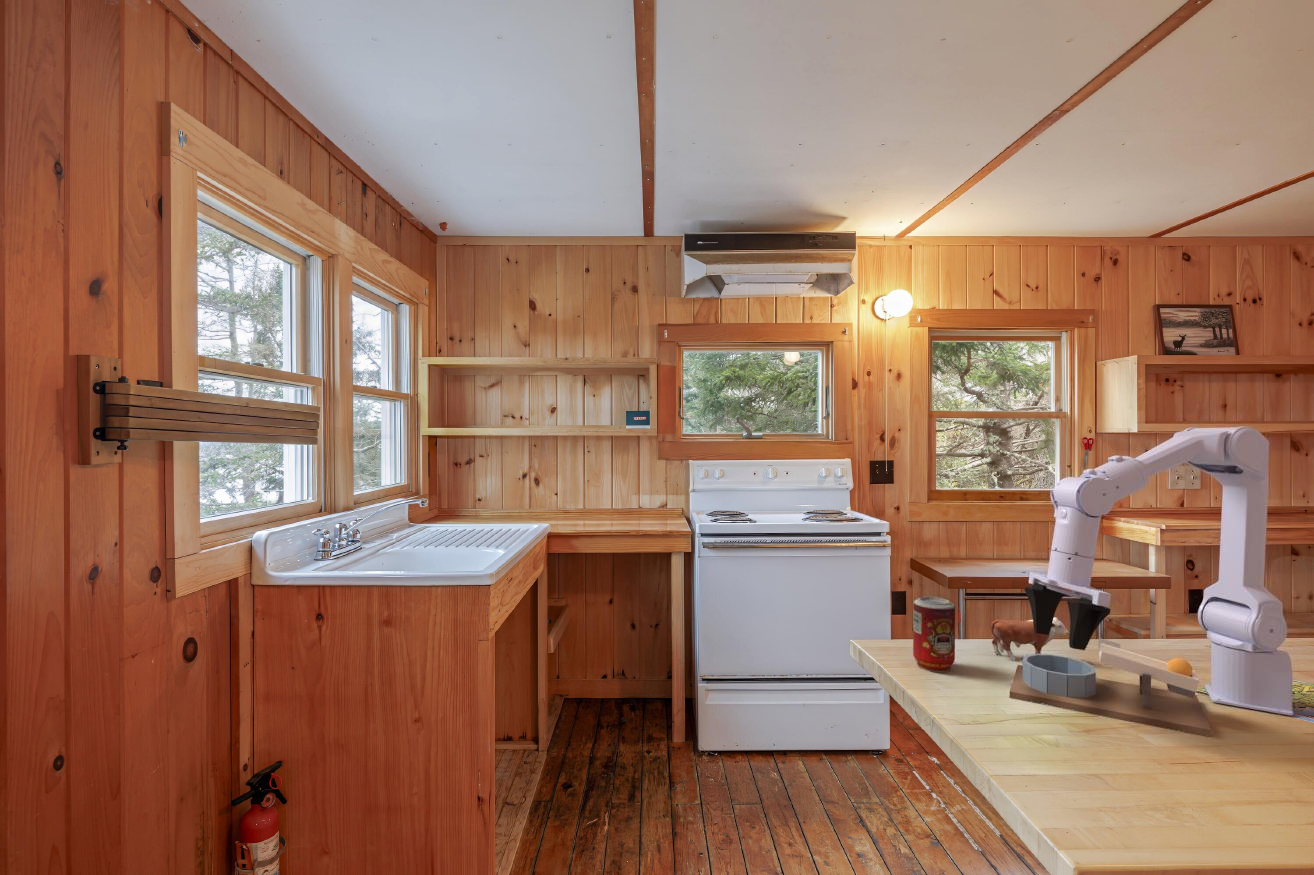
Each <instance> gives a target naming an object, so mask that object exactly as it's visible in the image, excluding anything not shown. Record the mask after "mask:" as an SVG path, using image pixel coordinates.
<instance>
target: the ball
mask: <svg viewBox="0 0 1314 875" xmlns="http://www.w3.org/2000/svg"><path fill="white" fill-rule="evenodd" d="M1167 663H1168V665H1167V668H1168V671H1171V672H1175V673H1178V674H1182V675H1185V676H1188V677H1190V676H1191V675H1192V672H1193V666H1192V665H1191V663H1190V662H1188V661H1187V660H1185V659H1183V658H1182V657H1181V658H1180V657H1179V658H1178V657H1175V658H1172V659H1170V660H1169V661H1168V662H1167Z"/></svg>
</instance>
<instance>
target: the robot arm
mask: <svg viewBox="0 0 1314 875" xmlns="http://www.w3.org/2000/svg"><path fill="white" fill-rule="evenodd" d="M1269 453H1270V440H1269V439H1267V438H1266V436H1264V435H1263V434H1262V433H1261V432H1260V431H1259V430H1257V429H1256V428H1254V427H1253V426H1249V425H1245V426H1243V425H1242V426H1236V427H1234V426H1233V427H1231V426H1229V427H1199V426H1197V427H1196V426H1192V427H1187V428H1185V429H1184V430H1181V431H1178V432H1175V433H1174V434H1173V436H1172V437H1171V438H1169V439H1167V440H1166V441H1164V442H1162V443H1160V444H1158V445H1156V446H1155V447H1153V448H1150V449H1149V450H1147V451H1146V452H1144V453H1142V454H1140V455H1138V456H1137V457H1135V458H1134V457H1131V456H1127V455H1113V456H1110V457H1108V458H1107V460H1108V462H1106V463H1104V464H1102V465H1100V466H1098V467H1095V468H1087V469H1085V470H1083V471H1082V474H1081V475H1080V476H1079V477H1076V476H1067V477H1064V478H1062V479H1061V480H1060V481H1058V482H1057V483H1056V485H1055V487H1054V489H1053V490H1051V491H1049V492H1050V501H1051V504H1052V506H1053V508H1054V515H1053V517H1054V519H1055V523H1054V528H1053V529H1054V530H1053V536H1052V542H1051V547H1050V549H1051V550H1050V556H1049V559H1048V560H1049V561H1048V566H1047V573H1046V574H1044V573H1041V572H1040V573H1039V572H1035V571H1034V572H1033V571H1029V577H1028V584H1031V585H1032V586H1029V585H1026V586H1024V592H1025V595H1026V596H1027V599H1028V602H1029V605H1030V610H1031V616H1032V620H1033V625H1034V632H1035V633H1039V634H1045V635H1049V632H1050V630H1051V627H1052V622H1053V618H1055V613H1056V612H1057V608H1058V606H1059V604H1060V602H1061V601H1062V599H1063V597H1064V596H1065V595H1067V596H1069V597H1072V598H1073V599H1072V598H1067V599H1066V604H1067V607H1068V612H1069V620H1070V621H1069V622H1070V623H1069V634H1068V635H1069V636H1068V644H1069V648H1070V649H1074V650H1079V651H1086V648H1087V647H1088V645H1089V642H1091V639H1092V637H1093V635H1094V633H1095V631H1096V630H1097V628H1098V627H1099V625H1100V624H1101V623H1102V622H1103V620H1104V619H1106V618H1107V616H1109V615H1110V614H1111V608H1109V607H1110V603H1111V598H1112V593H1109V592H1106V591H1103V590H1100V589H1097V588H1096V587H1092V586H1091V580H1092V576H1093V570H1094V569H1093V568H1094V563H1095V556H1096V549H1097V544H1098V537H1099V532H1100V531H1099V530H1100V525H1101V524H1100V523H1101V519H1102V518H1101V517H1102V516H1103V515H1104V516H1105V515H1108V513H1109V512H1111V511H1112V509H1113V507H1114V506H1115V505H1114V504H1115V503H1116V502H1118V501H1121V500H1122V499H1124V498H1127V497H1128V496H1130V495H1132V494H1135V493H1137V492H1139V491H1141V490H1143V489H1145V488H1146V487H1147V486H1148V484H1149V480H1150V477H1153V476H1156V475H1157V474H1160V473H1162V472H1163V473H1164V472H1165V471H1168V470H1170V469H1172V468H1175V467H1178V466H1181V465H1182V464H1183V465H1184V463H1185V464H1187V465H1189V466H1192V467H1194V468H1195V469H1197V470H1200V471H1201V472H1203V473H1205V474H1208V475H1210V476H1211V477H1212V478H1214V479H1215V481H1217V482H1218V483H1220V485H1221V486H1222V497H1221V498H1222V500H1221V501H1222V502H1221V517H1220V518H1221V520H1220V521H1221V523H1220V542H1219V563H1218V564H1219V565H1218V580H1217V581H1216V582H1215V583H1213V584H1211V585H1210V586H1207V587H1206V588H1205V589H1204V590H1203V599H1202V602H1201V603H1200V605H1199V608H1198V610H1197V620H1198V624H1199V626H1200V627H1201V629H1202V630H1203V631H1205V632H1206V638H1207V639H1209V640H1211V641H1210V642H1211V643H1210V644H1211V645H1210V646H1211V647H1210V648H1211V650H1210V654H1211V655H1210V657H1211V658H1210V661H1211V662H1210V668H1211V670H1210V677H1211V678H1210V681H1211V682H1210V684H1209V683H1208V684H1207V683H1206V684H1204V689H1205V690H1206V693H1207V695H1208V696H1209V698H1210V700H1211V702H1213V703H1217V704H1223V705H1228V706H1233V707H1240V708H1246V709H1252V710H1257V711H1263V712H1269V713H1274V714H1281V715H1284V716H1285V715H1286V716H1294V711H1293V666H1292V660H1291V656H1290V654H1289V653H1288V652H1287V651H1285V650H1280V649H1278V648H1279V647H1281V646H1282V645H1283V643H1284V642H1285V641H1286V638H1287V635H1288V627H1287V626H1288V624H1287V622H1286V620H1285V617H1284V613H1283V611H1284V610H1283V608H1284V607H1283V606H1284V605H1283V603H1282V601H1281V600H1280V599H1279V598H1278V597H1276V596H1275V595H1274V594H1272V593H1271V591H1269V590H1268V589H1267V588H1266V587H1265V570H1266V569H1265V567H1266V566H1265V565H1266V549H1267V548H1266V546H1267V545H1266V543H1267V526H1268V525H1267V522H1268V503H1269V502H1268V498H1269V481H1270V479H1269V478H1270V477H1269V455H1270V454H1269ZM1061 588H1062V589H1061ZM1068 590H1069V591H1068ZM1074 598H1076V599H1074ZM1078 599H1079V600H1078Z"/></svg>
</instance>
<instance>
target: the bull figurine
mask: <svg viewBox="0 0 1314 875" xmlns="http://www.w3.org/2000/svg"><path fill="white" fill-rule="evenodd" d="M990 632H991V634H992V636H993V639H992V641H991V644H992V647H993V653H994V654H995V655H996V654H999V655H1001V656H1002V653H1004V651H1005V652H1006V653H1007V656H1008V659H1011V660H1012V659H1014V660H1013V661H1018V658H1017V657H1016V655H1014V653H1013V652H1012V649H1011V643H1013V644H1014V645H1015V646H1016V648H1017V649H1018V648H1020V647H1021V646H1022V645H1031V646H1033V648H1034V650H1035V651H1034V654H1042V648H1043V647H1045V646H1046V645H1048V643H1049V642H1050V641H1053V638H1054V637H1060V636H1061V635H1063V636H1068V635H1069V634H1070V630H1068V629H1067V628H1066V626H1065V625H1064V623H1063V622H1062V621H1060V620H1059V618H1058V617H1055V616H1054V618H1053V622H1052V627H1051V630H1050V632H1049V635H1045V634H1039V633H1035V632H1034V625H1033V619H1029V620H1009V619H995V620H994V621H992V622H991V624H990Z"/></svg>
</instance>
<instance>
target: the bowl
mask: <svg viewBox="0 0 1314 875" xmlns="http://www.w3.org/2000/svg"><path fill="white" fill-rule="evenodd" d="M1022 666H1023V682H1024V683H1025V684H1027V685H1028V686H1029V687H1031V688H1033V689H1036V690H1039V691H1042V692H1045V693H1048V694H1053V695H1058V696H1063V697H1076V698H1086V697H1090V696H1093V695H1096V678H1097V676H1096V675H1097V674H1096V673H1097V672H1096V671H1097V670H1096V669H1097V668H1096V667H1095V666H1093V665H1091V664H1089V663H1088V662H1086V661H1083V660H1080V659H1076V658H1073V657H1069V656H1063V655H1058V654H1051V653H1049V654H1048V653H1041V654H1035V653H1032V654H1028V655H1024V656H1023V657H1022Z"/></svg>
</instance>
